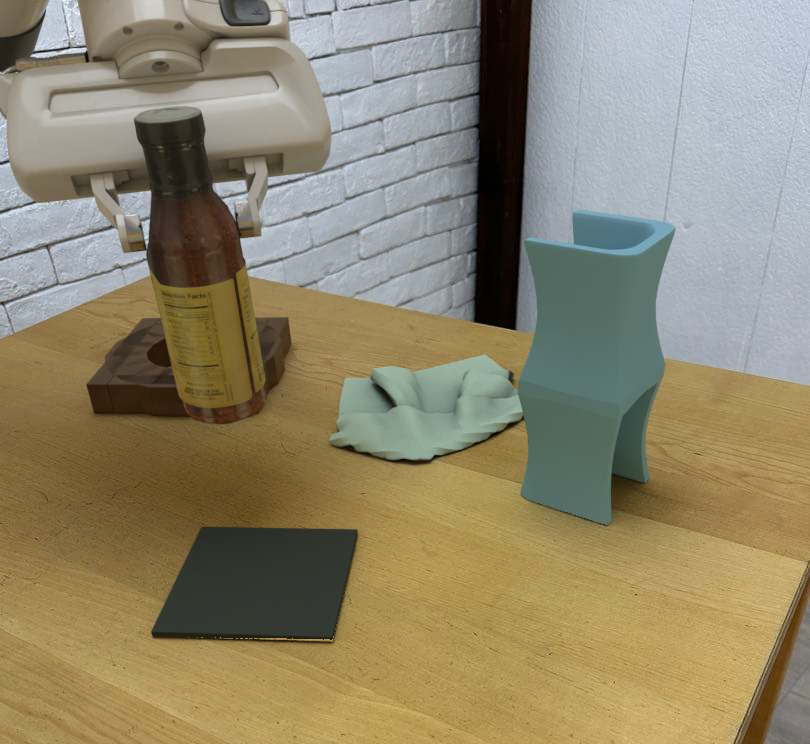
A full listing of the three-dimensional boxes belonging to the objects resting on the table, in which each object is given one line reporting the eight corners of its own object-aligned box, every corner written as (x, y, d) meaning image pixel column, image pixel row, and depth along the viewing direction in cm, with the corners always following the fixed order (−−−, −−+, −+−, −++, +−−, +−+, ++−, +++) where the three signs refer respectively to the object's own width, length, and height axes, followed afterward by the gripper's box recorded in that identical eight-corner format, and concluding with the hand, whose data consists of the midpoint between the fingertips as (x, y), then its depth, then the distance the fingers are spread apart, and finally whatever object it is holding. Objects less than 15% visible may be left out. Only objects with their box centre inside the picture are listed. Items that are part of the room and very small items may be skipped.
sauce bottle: (225, 382, 69) (177, 96, 57) (286, 402, 66) (249, 104, 54) (160, 416, 65) (94, 116, 53) (222, 439, 62) (167, 125, 50)
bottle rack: (85, 415, 85) (77, 386, 84) (144, 342, 99) (138, 315, 97) (262, 416, 84) (258, 387, 82) (297, 341, 97) (294, 314, 96)
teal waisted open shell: (561, 452, 76) (577, 208, 64) (649, 478, 72) (684, 223, 61) (514, 496, 71) (522, 239, 59) (607, 526, 67) (635, 258, 55)
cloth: (306, 459, 77) (303, 435, 76) (357, 352, 94) (356, 330, 93) (549, 470, 74) (550, 444, 72) (555, 357, 91) (557, 335, 90)
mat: (152, 637, 59) (150, 631, 59) (202, 531, 69) (201, 526, 69) (332, 642, 58) (332, 636, 58) (358, 534, 68) (357, 528, 67)
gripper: (-25, 26, 55) (9, 235, 53) (308, 0, 58) (352, 194, 56) (4, 94, 61) (36, 284, 59) (304, 67, 65) (343, 245, 63)
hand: (193, 240), depth 58 cm, fingers closed on sauce bottle, 6 cm apart
